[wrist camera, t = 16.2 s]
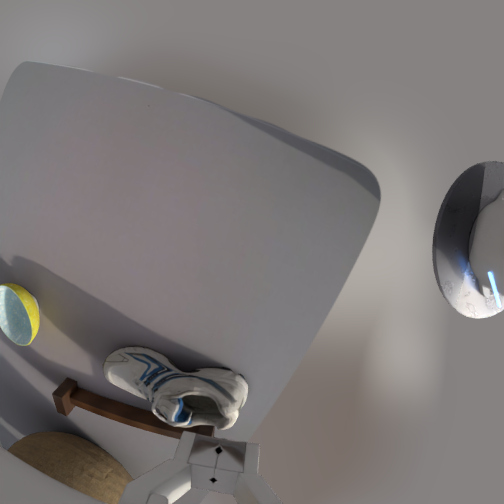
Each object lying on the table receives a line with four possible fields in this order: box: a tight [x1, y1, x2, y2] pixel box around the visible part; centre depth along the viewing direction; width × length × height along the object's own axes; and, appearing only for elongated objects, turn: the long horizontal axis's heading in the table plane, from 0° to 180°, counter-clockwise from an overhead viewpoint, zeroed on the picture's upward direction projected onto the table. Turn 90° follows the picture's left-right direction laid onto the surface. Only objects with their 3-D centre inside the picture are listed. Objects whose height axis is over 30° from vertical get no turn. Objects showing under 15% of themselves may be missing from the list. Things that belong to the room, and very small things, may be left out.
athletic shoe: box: [103, 346, 248, 430], centre depth 41 cm, size 10×23×12 cm, turn 89°
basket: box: [7, 432, 133, 504], centre depth 43 cm, size 35×35×25 cm
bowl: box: [0, 283, 39, 346], centre depth 42 cm, size 11×12×6 cm
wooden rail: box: [52, 378, 215, 439], centre depth 46 cm, size 30×5×6 cm, turn 82°
